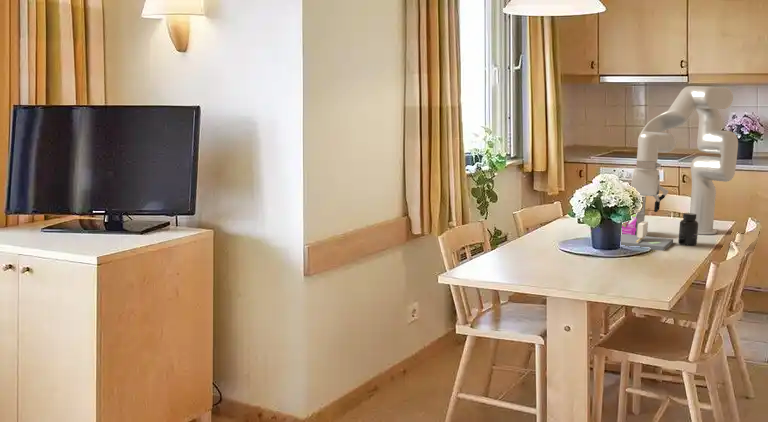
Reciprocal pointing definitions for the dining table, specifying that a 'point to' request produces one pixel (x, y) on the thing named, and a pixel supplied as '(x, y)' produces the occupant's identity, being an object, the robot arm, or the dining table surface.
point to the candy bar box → (634, 221)
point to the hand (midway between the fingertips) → (643, 210)
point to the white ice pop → (642, 230)
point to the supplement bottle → (688, 230)
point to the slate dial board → (646, 242)
